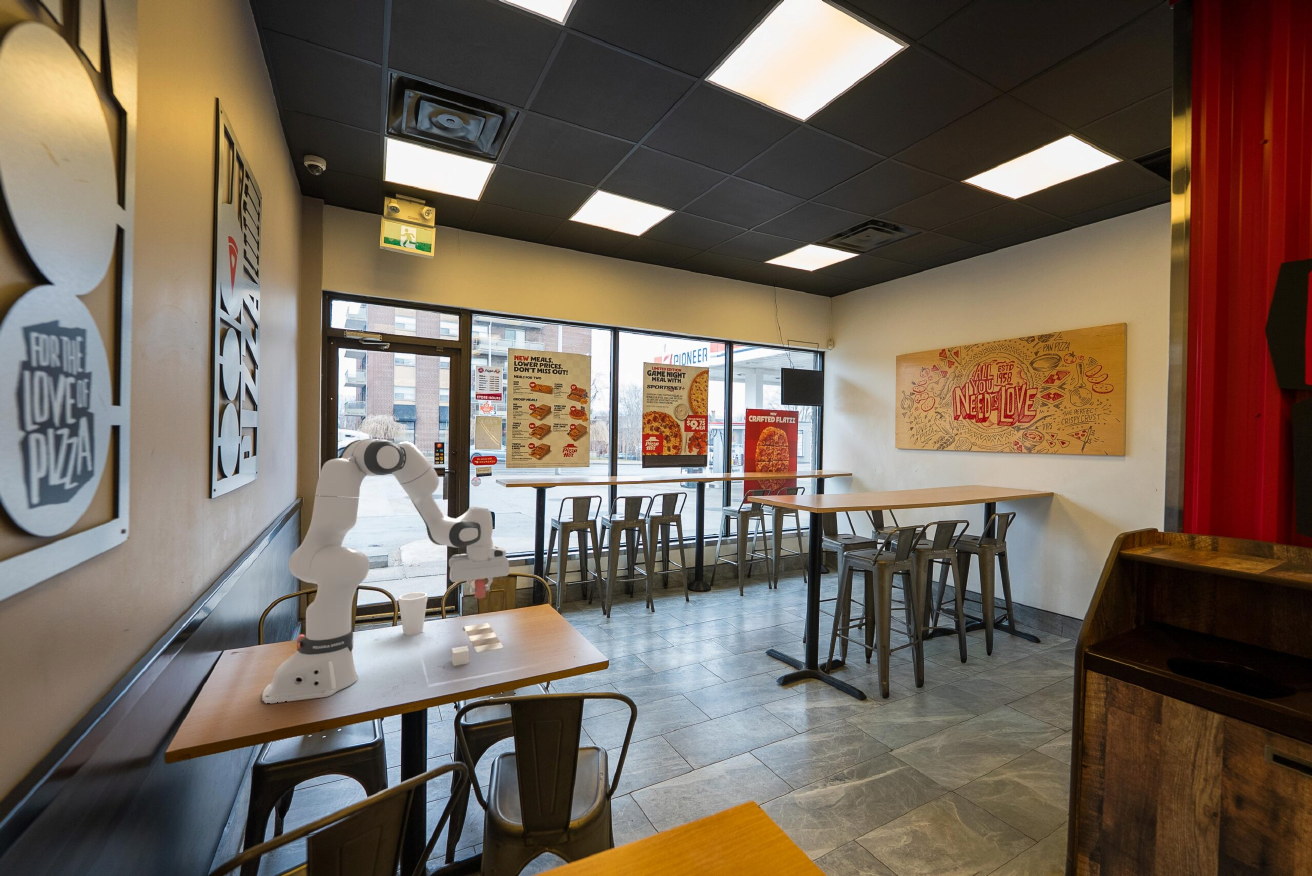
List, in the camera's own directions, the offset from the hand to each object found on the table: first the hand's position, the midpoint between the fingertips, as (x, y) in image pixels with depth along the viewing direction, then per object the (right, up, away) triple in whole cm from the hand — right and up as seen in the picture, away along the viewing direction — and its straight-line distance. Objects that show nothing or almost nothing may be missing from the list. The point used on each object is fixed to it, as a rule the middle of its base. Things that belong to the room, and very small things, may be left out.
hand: (480, 591), depth 196 cm
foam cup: (-24, -15, +1) cm, 29 cm away
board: (+2, -15, -5) cm, 16 cm away
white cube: (+2, -15, -26) cm, 30 cm away
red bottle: (0, -2, 0) cm, 2 cm away
